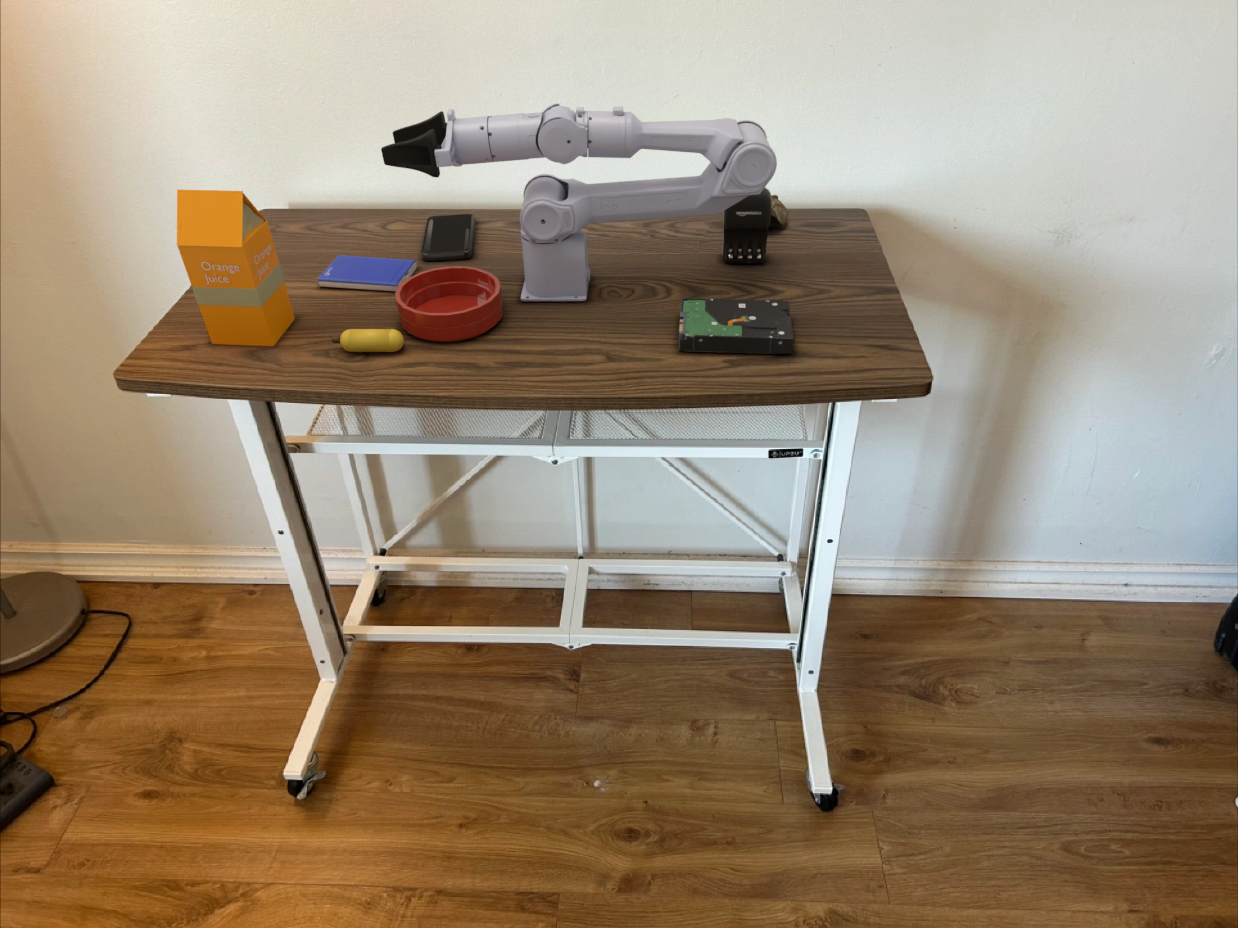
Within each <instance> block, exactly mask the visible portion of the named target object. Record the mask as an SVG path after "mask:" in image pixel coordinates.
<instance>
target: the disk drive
mask: <svg viewBox="0 0 1238 928" xmlns="http://www.w3.org/2000/svg"><path fill="white" fill-rule="evenodd" d="M790 305H791V304H790V301H789V300H780V299H768V300H767V299H738V298H737V299H735V298H734V299H733V298H703V297H701V298H698V297H697V298H692V297H691V298H690V297H686V298H685V297H681V300H680V312H679V327H678V350H679V351H684V352H689V353H690V352H695V353H696V352H701V353H702V352H703V353H733V354H735V353H737V354H761V355H762V354H764V355H766V354H767V355H772V354H773V355H777V354H779V355H785V354H792V353H793V346H794V339H795V337H794V331H793V323H792V316H791V307H790Z"/></svg>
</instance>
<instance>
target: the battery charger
mask: <svg viewBox="0 0 1238 928" xmlns="http://www.w3.org/2000/svg"><path fill="white" fill-rule="evenodd" d="M771 195H772V193H771V190H770V189H769V188H768V187H766V186H765V188H764V189H763V190H762V192H761V193H760V194H758V195H751V196H748V197H746V198H744V199H743V200H741V201H739V202H738V203H736V204H734V205H733V206H731V207H729V208H728V209H726V210H724V211H722V212H723V213H722V214H723V215H722V249H721V257H722V260H723V261H724V262H725V263H727V264H734V265H735V264H736V265H737V264H738V265H739V264H740V265H741V264H742V265H744V264H745V265H750V264H751V265H753V264H754V265H755V264H763V263H764V262H765V261H766V257H767V245H768V244H767V243H768V236H769V229H770V227H771V226H770V220H771V206H772V202H771Z"/></svg>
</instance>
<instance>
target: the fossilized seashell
mask: <svg viewBox="0 0 1238 928" xmlns="http://www.w3.org/2000/svg"><path fill="white" fill-rule="evenodd" d="M771 202H772V206H771V220H770V226H769V227H772V228H779V227H782V226H784V225H785V224H786V223H788V217H789V211H788V209H787V207H786V206H785V205H784V203H782V201H781V200H780V199H779V196H778V195H777V194H771Z"/></svg>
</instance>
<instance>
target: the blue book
mask: <svg viewBox="0 0 1238 928" xmlns="http://www.w3.org/2000/svg"><path fill="white" fill-rule="evenodd" d="M417 268H418V265H417V260H416V259H403V258H402V259H401V258H386V257H372V256H358V255H357V256H355V255H342V254H341V255H340V254H339V255H338V256H337V257H336V258H335V259H333V261H332V262H331V263H330V264H329V265H328V267H326V268H325V269H324V271H322V273H321V274H320V275H319V276H318V277H317V283H318V286H319V287H322V288H339V289H352V290H369V291H382V292H383V291H384V292H396V291H397V289H398V287H399V285H400V284H402V283H403V282H404V281H405V280H406V279H408V278H410V277H412V276H413V274H414V273H415V272H416V271H417Z"/></svg>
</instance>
